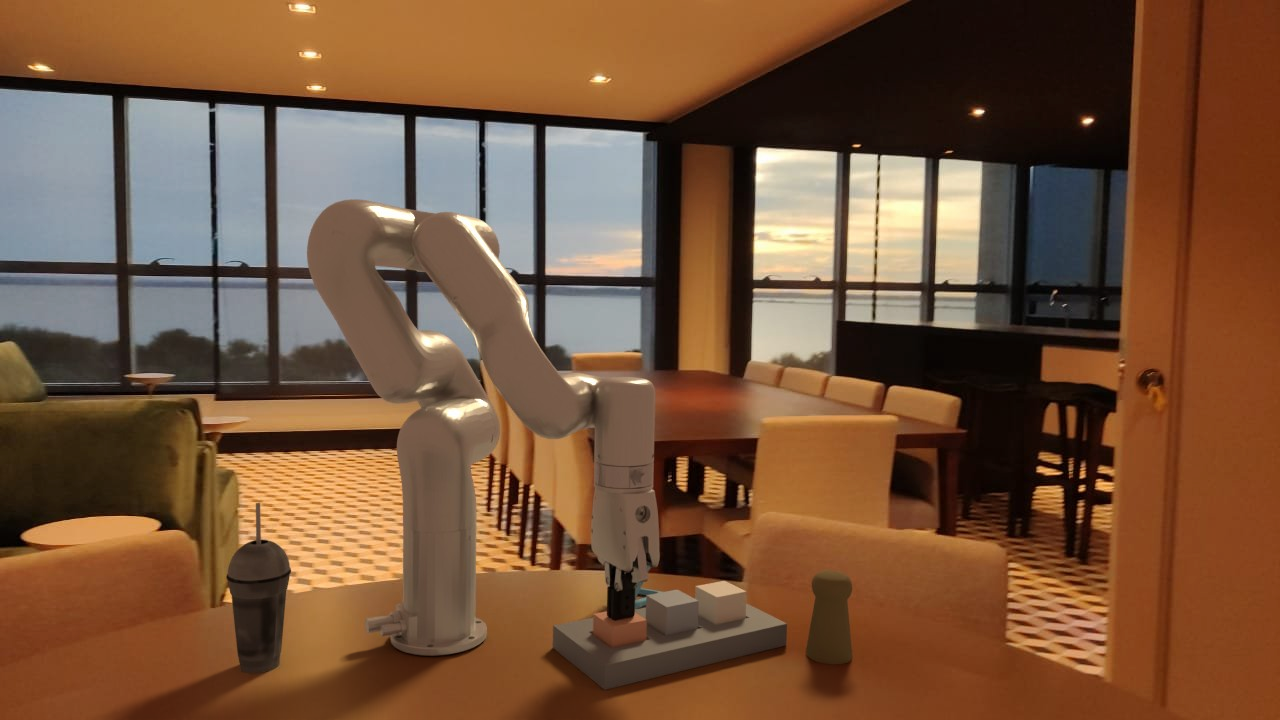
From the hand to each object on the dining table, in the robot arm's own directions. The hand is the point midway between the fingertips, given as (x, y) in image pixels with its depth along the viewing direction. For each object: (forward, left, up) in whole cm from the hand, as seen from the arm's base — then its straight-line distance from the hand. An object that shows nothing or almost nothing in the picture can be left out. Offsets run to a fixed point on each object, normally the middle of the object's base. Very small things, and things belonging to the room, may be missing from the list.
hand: (620, 616), depth 112 cm
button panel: (+8, 0, -6) cm, 10 cm away
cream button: (+16, 0, -3) cm, 16 cm away
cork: (+25, -12, -6) cm, 28 cm away
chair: (+12, +17, -6) cm, 22 cm away
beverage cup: (-40, +19, -6) cm, 45 cm away
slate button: (+8, 0, -3) cm, 8 cm away
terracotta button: (0, 0, -4) cm, 4 cm away
